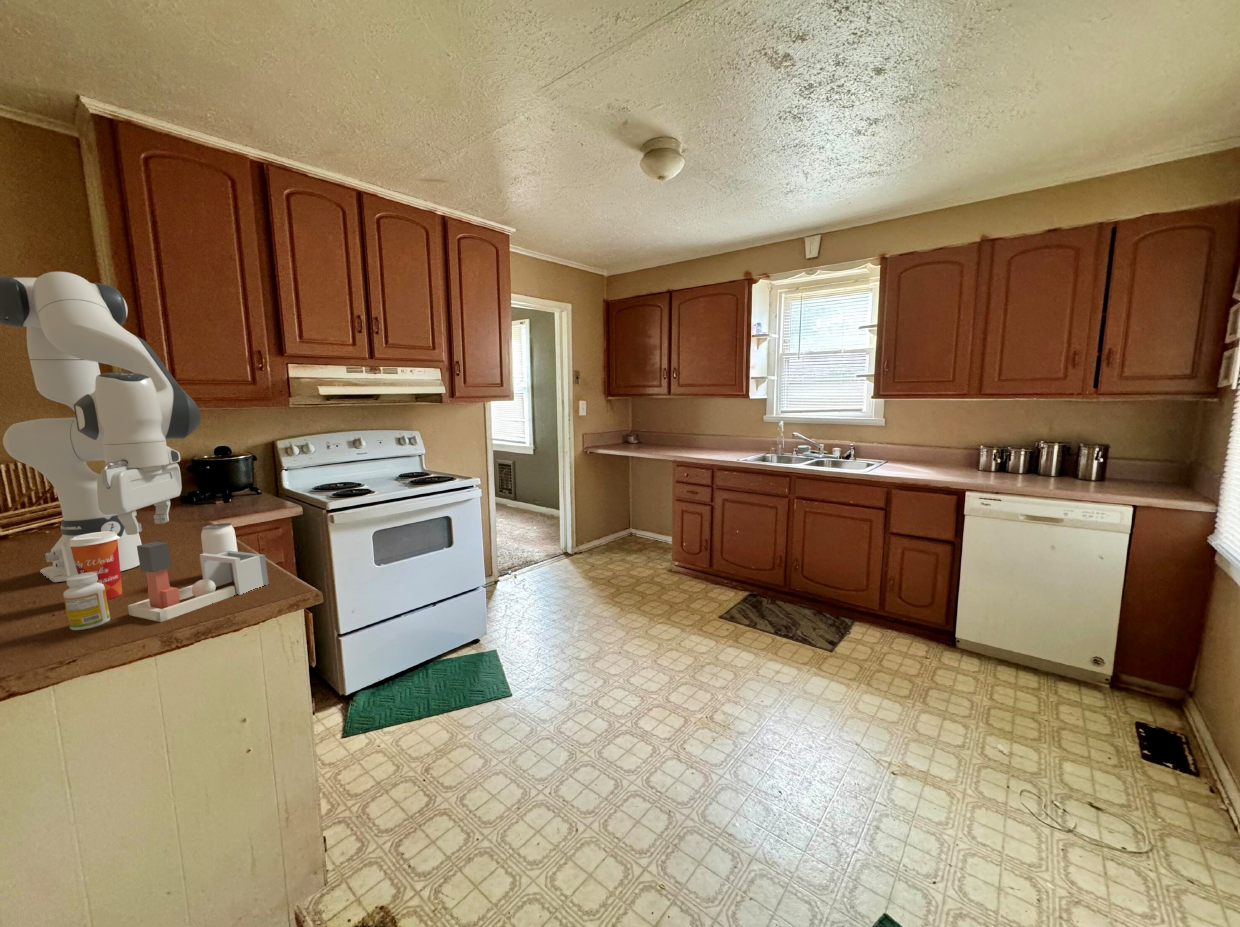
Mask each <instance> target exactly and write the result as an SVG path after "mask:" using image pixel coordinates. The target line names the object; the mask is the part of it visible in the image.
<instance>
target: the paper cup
mask: <svg viewBox="0 0 1240 927" xmlns="http://www.w3.org/2000/svg"><path fill="white" fill-rule="evenodd" d="M119 538H120V537H119V536H117V534H115V532H113V531H104V532H95V533H89V534H84V535H79V536H75V537H74V538H72V539H70V543H69V544H68V546H70V547H71V551H72V554H73V558H74V562H75V565H76V569H77V572H78V574H82V573H89V572H96V573H97V577H98V580H97V583H102V584H103V585H104V587H105V592H106V597H107V601H109V600H111V599H115V598H117V597H120V596H122V594H123V587H122V586H123V585H122V575H121V574H122V573H121V572H122V571H120V561H119V551H118V540H117V539H119Z"/></svg>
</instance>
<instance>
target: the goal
mask: <svg viewBox="0 0 1240 927" xmlns="http://www.w3.org/2000/svg"><path fill="white" fill-rule="evenodd" d="M199 560H200V561H199V562H200V567H201V573H202V574H201V575H202V580H203V579H208V580H211V581H213V582H214V583H215V585H216V588H217V587H220V586H223V585H226V584H229V583H234V587H235V594H236V595H237V594H238V595H237V596H242V595H244V594H247V593H248V591H250V590H252V591H254V590H253V589H255V588H258V589H260V588H259V587H261V588H263V587H262V586H264V585H266V586H269V585H270V583H269V576H268V569H267V568H268V566H267V560H266V554H262V553H261V554H259V553H253V552H243V551H238V552H237V551H227V552H223V553H220V554H216V555H214V554H206V553H204V554H203V553H200V554H199ZM232 581H233V582H232ZM268 584H269V585H268ZM264 587H265V586H264ZM255 590H256V589H255ZM246 592H247V593H246ZM250 592H251V591H250ZM243 593H244V594H243Z"/></svg>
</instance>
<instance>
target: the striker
mask: <svg viewBox="0 0 1240 927" xmlns="http://www.w3.org/2000/svg"><path fill="white" fill-rule="evenodd" d="M137 551H138V557H139V563H140V565H139V566H140V567H139V568H140V571H142V572H145V574H146V582H147V586H148V587H147V594H148V599H149V601H150V607H154V608H159V609H164V608H167V607H170V606H173V605H176V604H179V603H181V600H180V599H179V593H178V589H179V588H178V587H174V586H171V584H170V580H169V572H168V569H171V568H172V563H171V562H172V561H171V556H170V549H169V544H168V542H161V541H153V542H148V543H144V544H142V545H139V546H137Z"/></svg>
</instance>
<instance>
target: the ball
mask: <svg viewBox="0 0 1240 927" xmlns="http://www.w3.org/2000/svg"><path fill="white" fill-rule="evenodd" d="M192 585H193V587H192V594H193V595H194V598H196V597H199V596H202V595H205V594H208V593H211V592H214V591H217V590H216V588H217V587H216V585H215V583H214V582H213V581H211V580H208V579H203V578H202V579H200V580H197V581H196V582H195V583H193V584H192Z"/></svg>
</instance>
